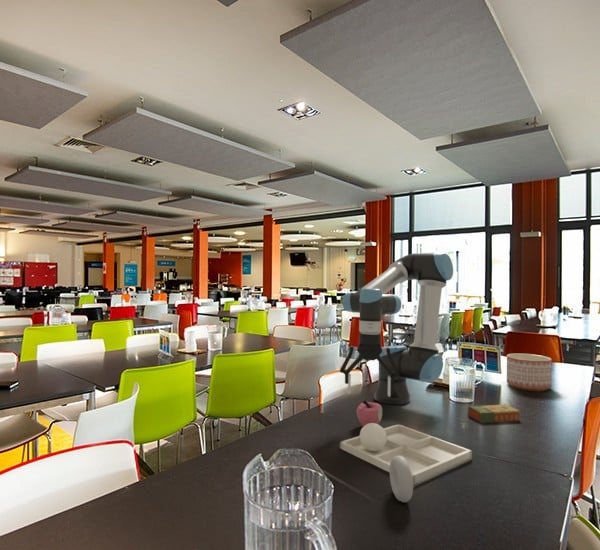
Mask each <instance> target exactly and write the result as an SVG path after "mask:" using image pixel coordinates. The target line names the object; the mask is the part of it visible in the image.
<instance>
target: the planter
mask: <svg viewBox="0 0 600 550" xmlns="http://www.w3.org/2000/svg"><path fill="white" fill-rule="evenodd" d="M552 361H553V360H552V358H551V357H548V356H544V355H538V354H532V353H508V354H506V383H507V384H508V385H510V386H511V387H512V386H513V387H512V388H514V387H515V388H514V389H517V388H518V389H517V390H521V389H522V390H521V391H527V390H528V391H529V392H545V391H547V390H549V389H551V388H552ZM528 391H527V392H528Z"/></svg>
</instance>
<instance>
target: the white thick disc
mask: <svg viewBox="0 0 600 550" xmlns="http://www.w3.org/2000/svg"><path fill="white" fill-rule="evenodd" d="M389 481H390V486H391V490H392V492H393V495H394V497H395V498H396V500H398V501H399V502H400V501H401V502H400V503H408V502H410V500H411V499H412V497H413V493H414V486H413V478H412V472H411V469H410V466H409V464H408V462H407V460H406V459H405V458H404V457H402V456H399V455H398V456H395V457H393V459H392V460H391V463H390V473H389Z"/></svg>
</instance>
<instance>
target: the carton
mask: <svg viewBox="0 0 600 550" xmlns="http://www.w3.org/2000/svg"><path fill="white" fill-rule="evenodd" d="M467 409H468V410H467V416H468V417H470V418H471V419H473V420H475V421H477V422H478V423H481V424H484V423H503V422H520V420H521V419H520V415H521V414H520V410H519V409H517V408H514V407H512V406H511V405H508V404H507V403H506V404H504V403H503V404H491V405H489V404H486V405H474V406H473V405H469V406H468V408H467Z"/></svg>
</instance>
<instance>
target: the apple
mask: <svg viewBox="0 0 600 550" xmlns="http://www.w3.org/2000/svg"><path fill="white" fill-rule="evenodd" d="M356 416H357V418H358V419H357V420H359V422H360V423H361V426H362V428H363V427H364V426H365V425H366V424H369V423H376V424H379V423H380V422H381V420H382V417H383V407H382V405H381V404H379V403H377V402H370V401H366V400H363V401H362V402H361V403H360V404H359V405H358V406H357V408H356ZM379 425H380V424H379Z"/></svg>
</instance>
